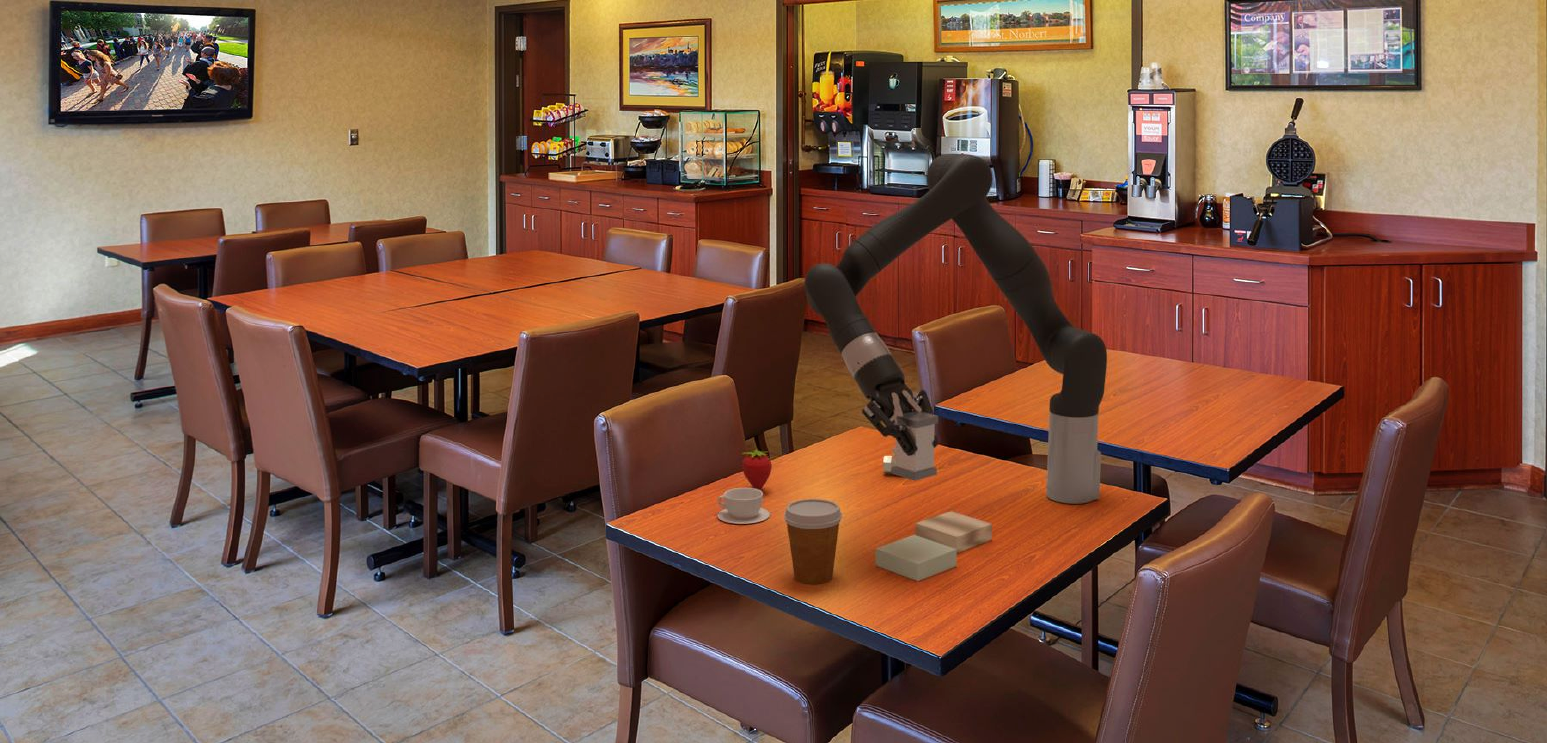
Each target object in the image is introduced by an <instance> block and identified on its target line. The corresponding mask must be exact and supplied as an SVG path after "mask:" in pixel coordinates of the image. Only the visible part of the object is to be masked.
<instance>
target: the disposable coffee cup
mask: <svg viewBox="0 0 1547 743" xmlns="http://www.w3.org/2000/svg"><path fill="white" fill-rule="evenodd" d="M783 518H784V521H785V522H786V526H787V528H786V529H787V534H788V541H789V547H790V555H791V560H792V562H791V563H792V570H793V576H794V579H795V580H796V581H798V582H799V583H803V584H807V585H808V584H809V585H819V584H825V583H827V582H831V580H832V579H833V578H834V577H833V576H834V568H835V567H834V566H835V561H836V553H837V544H838V537H839V536H838V535H839V528H840V522H841V520H842V518H843V512H842V511H841V509H840V505H839V504H838V503H836V502H834V501H832V500H827V499H820V498H806V499H799V500H795V501H792V502H790V503H789V504H788V505H786V509H785V511H784V513H783Z"/></svg>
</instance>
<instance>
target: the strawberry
mask: <svg viewBox="0 0 1547 743" xmlns="http://www.w3.org/2000/svg"><path fill="white" fill-rule="evenodd" d="M755 448H756V449H755V450H753V452H752V451H750V452H748V451H747V452H742V453H741V454H742V455H746V456H745V457H744V458H743V460H742V463H741V467H742V472H743V474H744V476H745V478H746V480H747V481H748V483H749V484H750V485H751V486H752V488H755V489H758V490H761V491H762V489H763V488H764V486H765V485H766V483H767V482H768V480H769V478H770V476H771V471H772V468H773V465H772V460H770V458H769V457H768V454H766V453H768V452H769V451H767V450H766V451H760V450H758V447H755Z"/></svg>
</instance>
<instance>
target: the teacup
mask: <svg viewBox="0 0 1547 743" xmlns="http://www.w3.org/2000/svg"><path fill="white" fill-rule="evenodd" d="M763 498H764V493H763V491H762V489H761V490H758V489H755V488H753V487H737V488H736V487H734V488H731V489H727V490H726V491H725V492H724V493H723V494H722V495H720V496H718V498H717V504H718V506H719V507H721V508H723V509H722V510H720V511H719V512H718V513H717V515H716V516H717V518H718V519H719V520H721V521H723V522H725V523H729V524H738V525H739V524H740V525H741V524H742V525H743V524H744V525H745V524H755V523H759V522H762V521H765V520H768V519H769V518H770V515H771V512H769V511H768V510H767V509H766V508H763V507H762V505H763ZM722 499H723V501H724V503H723V502H722ZM756 514H757V515H756Z"/></svg>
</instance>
